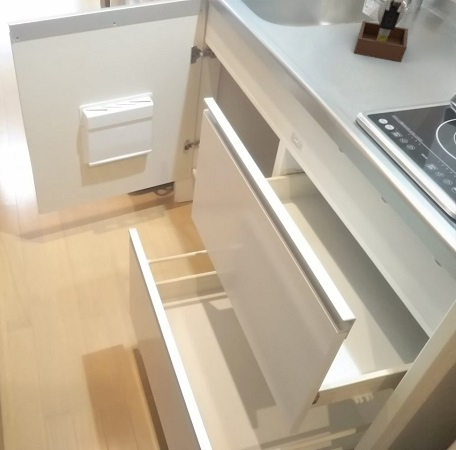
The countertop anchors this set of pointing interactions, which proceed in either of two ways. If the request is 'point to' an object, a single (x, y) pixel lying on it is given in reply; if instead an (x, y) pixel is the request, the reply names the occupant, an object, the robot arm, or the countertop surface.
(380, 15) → the light bulb
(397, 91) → the countertop surface
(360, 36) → the tray
